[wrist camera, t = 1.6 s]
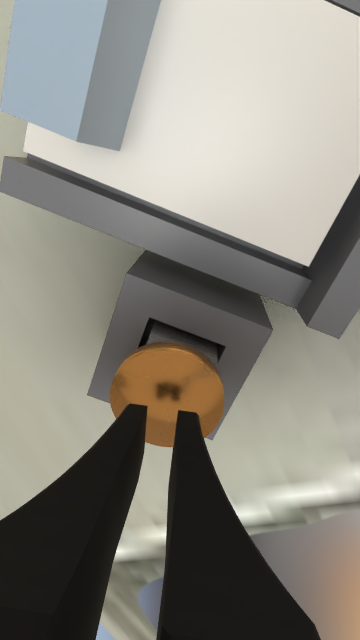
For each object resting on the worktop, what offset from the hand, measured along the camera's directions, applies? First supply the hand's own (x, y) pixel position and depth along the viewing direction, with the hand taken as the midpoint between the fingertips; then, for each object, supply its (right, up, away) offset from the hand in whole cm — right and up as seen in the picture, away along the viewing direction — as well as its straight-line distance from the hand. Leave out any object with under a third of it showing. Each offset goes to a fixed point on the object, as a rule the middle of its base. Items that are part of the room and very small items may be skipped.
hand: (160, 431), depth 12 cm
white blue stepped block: (+2, +13, +3) cm, 13 cm away
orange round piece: (0, +2, +5) cm, 6 cm away
